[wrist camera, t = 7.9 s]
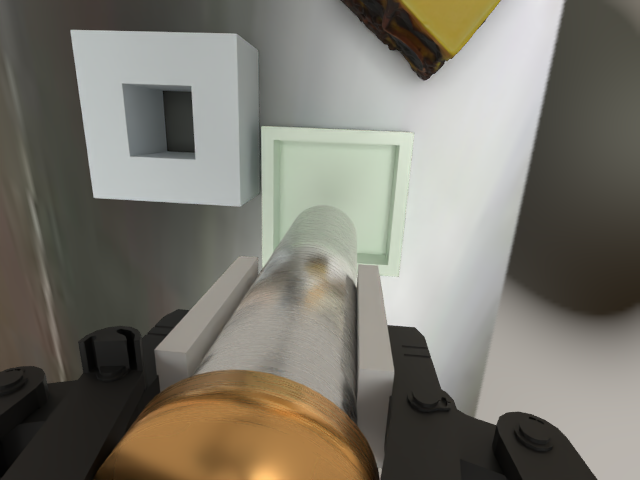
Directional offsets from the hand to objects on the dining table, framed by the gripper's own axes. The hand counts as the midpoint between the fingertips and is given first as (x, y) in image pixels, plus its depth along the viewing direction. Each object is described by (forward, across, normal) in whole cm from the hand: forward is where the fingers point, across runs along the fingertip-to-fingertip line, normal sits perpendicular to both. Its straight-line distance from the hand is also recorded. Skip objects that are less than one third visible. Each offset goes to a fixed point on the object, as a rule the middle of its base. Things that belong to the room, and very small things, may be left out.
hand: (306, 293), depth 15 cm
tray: (+20, 0, 0) cm, 20 cm away
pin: (+8, 0, 0) cm, 8 cm away
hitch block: (+20, -13, +6) cm, 25 cm away
